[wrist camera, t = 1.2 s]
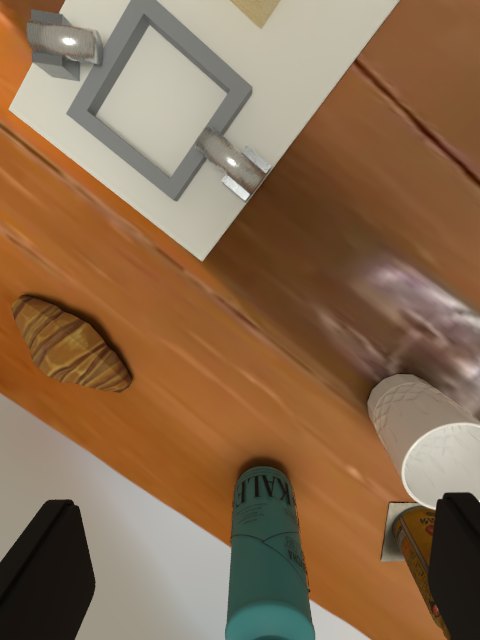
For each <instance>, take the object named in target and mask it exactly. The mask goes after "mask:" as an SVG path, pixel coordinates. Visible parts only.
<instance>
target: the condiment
mask: <svg viewBox="0 0 480 640" xmlns="http://www.w3.org/2000/svg"><path fill="white" fill-rule="evenodd" d="M435 512H436V510H434V509H430V508H427V507H425V506H423V505H421V504H419V503H390V504H389V510H388V516H387V522H386V529H385V540H384V545H383V553H382V560H381V562H388V561H406V563H407V565H408V567H409V569H410V571H411V574H412V575H413V578H414V580H415V582H416V584H417V586H418V588H419V590H420V592H421V595H422V597H423V599H424V601H425V603H426V605H427V608H428V610H429V612H430V614H431V616H432V618H433V620H434V621H435V623H436V624H437V626H439V627H440V628H441V629H442V630H443V633H444V636H445V637H446V638H447V639H448V640H453V639H452V637H451V635H450V633H449V631H448V629H447V627H446V625H445V623H444V621H443V619H442V617H441V615H440V612H439V610H438V608H437V606H436V604H435V602H434V600H433V598H432V596H431V593H430V590H429V586H428V570H429V561H430V553H431V545H432V537H433V528H434V520H435ZM394 539H395V540H394Z"/></svg>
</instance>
